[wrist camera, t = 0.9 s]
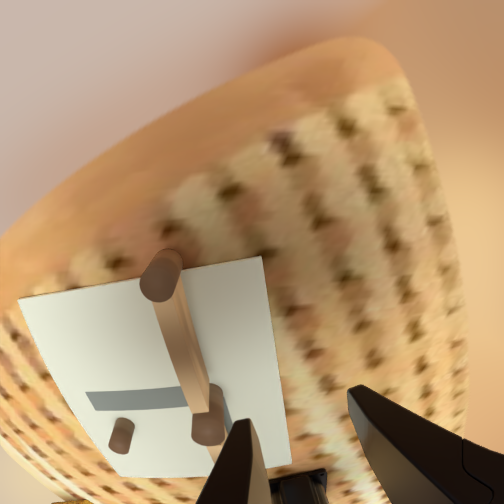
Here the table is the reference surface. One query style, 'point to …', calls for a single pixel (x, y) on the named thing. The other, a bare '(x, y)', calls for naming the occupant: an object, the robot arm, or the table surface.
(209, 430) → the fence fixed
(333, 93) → the table surface
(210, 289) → the card
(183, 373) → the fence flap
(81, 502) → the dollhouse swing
